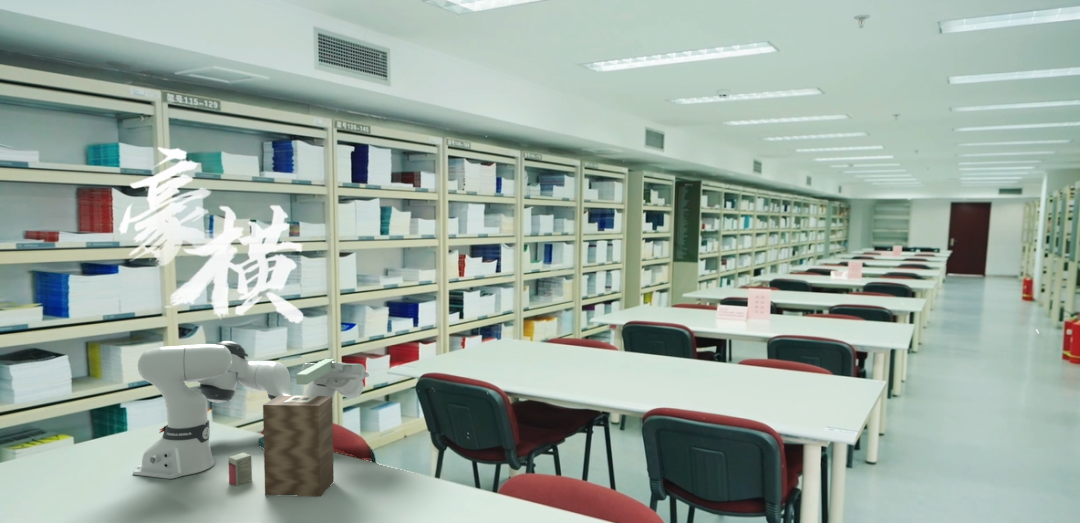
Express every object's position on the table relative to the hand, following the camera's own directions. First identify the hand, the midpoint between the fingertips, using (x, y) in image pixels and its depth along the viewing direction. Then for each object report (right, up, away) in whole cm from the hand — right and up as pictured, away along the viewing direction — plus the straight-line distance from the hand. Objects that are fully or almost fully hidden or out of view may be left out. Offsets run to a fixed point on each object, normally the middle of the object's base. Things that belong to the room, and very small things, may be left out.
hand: (326, 363), depth 203 cm
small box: (-21, -33, -14) cm, 42 cm away
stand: (-1, -33, -19) cm, 38 cm away
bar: (0, -2, -8) cm, 8 cm away
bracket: (-22, -32, +15) cm, 42 cm away
